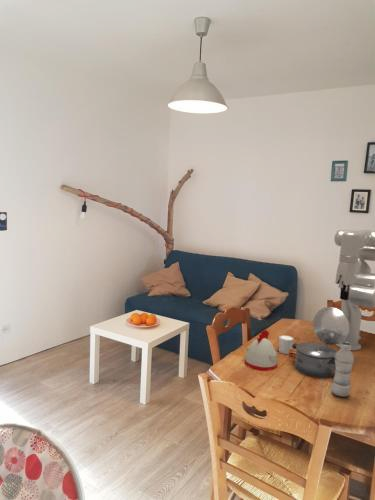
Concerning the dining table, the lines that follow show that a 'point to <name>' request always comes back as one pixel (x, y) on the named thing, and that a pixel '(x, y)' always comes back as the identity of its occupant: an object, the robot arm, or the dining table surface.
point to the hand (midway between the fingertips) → (344, 299)
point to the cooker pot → (315, 359)
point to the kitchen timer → (261, 354)
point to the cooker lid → (331, 326)
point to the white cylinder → (285, 344)
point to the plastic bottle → (342, 370)
